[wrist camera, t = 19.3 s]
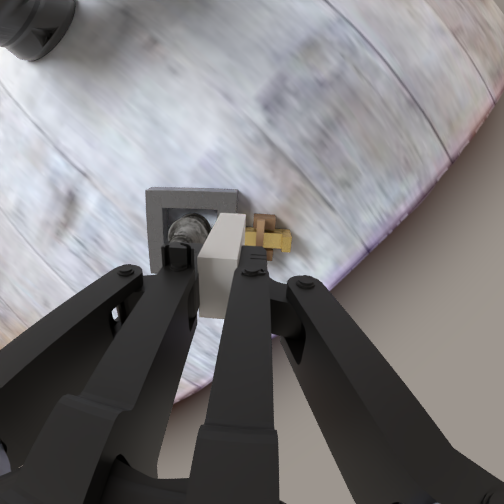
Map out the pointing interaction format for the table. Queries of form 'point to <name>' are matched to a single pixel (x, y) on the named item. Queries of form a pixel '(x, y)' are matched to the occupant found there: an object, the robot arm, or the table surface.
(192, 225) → the grey stone chess piece
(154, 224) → the socket collar
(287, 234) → the pin
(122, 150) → the table surface
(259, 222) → the bracket
